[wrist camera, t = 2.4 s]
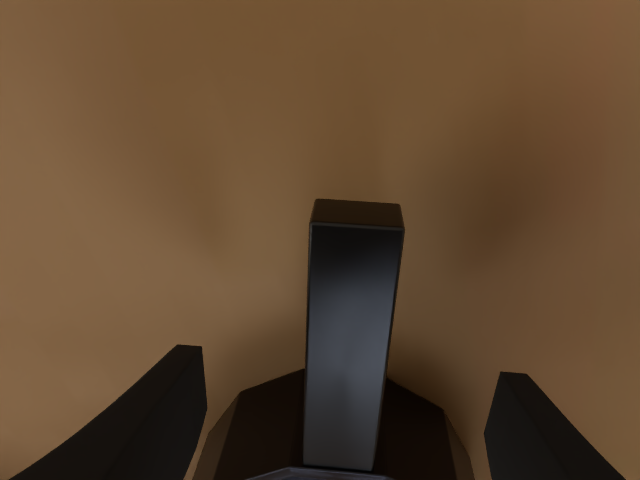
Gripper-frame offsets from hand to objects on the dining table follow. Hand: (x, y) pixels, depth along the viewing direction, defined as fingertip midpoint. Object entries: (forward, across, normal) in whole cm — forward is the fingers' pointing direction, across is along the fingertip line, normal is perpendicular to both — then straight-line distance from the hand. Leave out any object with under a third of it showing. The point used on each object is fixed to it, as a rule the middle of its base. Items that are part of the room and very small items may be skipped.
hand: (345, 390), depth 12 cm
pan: (+4, 0, +4) cm, 6 cm away
